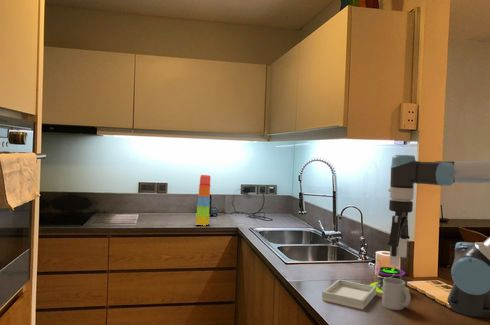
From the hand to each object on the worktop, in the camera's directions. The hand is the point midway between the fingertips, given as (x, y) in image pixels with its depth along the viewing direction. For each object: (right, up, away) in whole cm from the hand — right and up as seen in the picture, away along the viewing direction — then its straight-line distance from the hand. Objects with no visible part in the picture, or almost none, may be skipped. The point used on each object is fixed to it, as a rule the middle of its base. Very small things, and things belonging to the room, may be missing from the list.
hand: (398, 261), depth 142 cm
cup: (0, -16, 0) cm, 17 cm away
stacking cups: (-82, -9, +140) cm, 162 cm away
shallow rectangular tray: (-14, -16, +9) cm, 23 cm away
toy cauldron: (+4, -16, +20) cm, 26 cm away
